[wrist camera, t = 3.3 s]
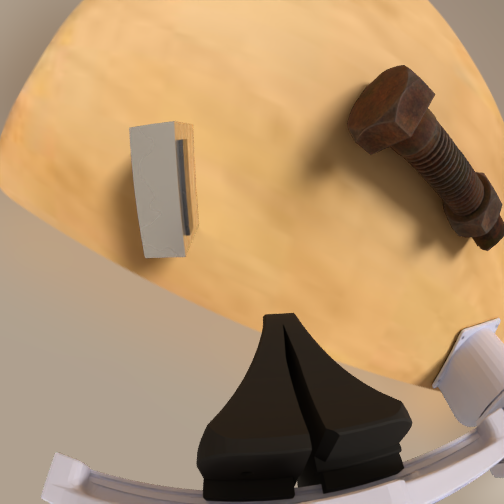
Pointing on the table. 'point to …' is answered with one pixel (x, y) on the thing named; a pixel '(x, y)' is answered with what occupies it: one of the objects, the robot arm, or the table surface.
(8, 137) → the table surface
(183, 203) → the block
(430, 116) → the bolt
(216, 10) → the table surface
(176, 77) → the table surface
